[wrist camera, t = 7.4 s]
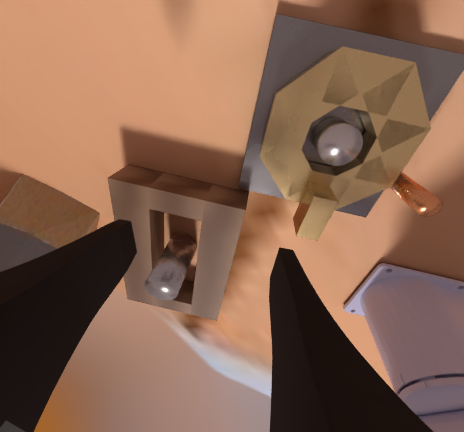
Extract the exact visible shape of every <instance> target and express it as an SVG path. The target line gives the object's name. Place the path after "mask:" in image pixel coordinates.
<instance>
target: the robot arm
mask: <svg viewBox="0 0 464 432" xmlns="http://www.w3.org/2000/svg"><path fill="white" fill-rule="evenodd" d="M136 253H137V249H136V243H135V238H134V233H133V228H132V223H131V221H127V220H122V219H118V220H116V221H114V222H112V223H109V224H107V225H105V226H103V227H101V228H99V229H97V230H95V231H93V232H91V233H89V234H87V235H85V236H83V237H81V238H79V239H77V240H75V241H73V242H71V243H69V244H67V245H64V246H62V247H60V248H58V249H56V250H53V251H51V252H49V253H47V254H45V255H42V256H40V257H38V258H35V259H33V260H30V261H28V262H25V263H23V264H20V265H17V266H15V267H12V268H10V269H7V270H4V271H1V272H0V432H34V430H35V427H36V425H37V423H38V421H39V419H40V417H41V415H42V413H43V410H44V408H45V406H46V404H47V402H48V400H49V398H50V396H51V394H52V391H53V390H54V388H55V386H56V384H57V382H58V380H59V378H60V376H61V374H62V373H63V371H64V369H65V367H66V365H67V363H68V361H69V359H70V358H71V356H72V354H73V352H74V350H75V348H76V347H77V345H78V343H79V341H80V340H81V338H82V336H83V335H84V333H85V331H86V330H87V328H88V326H89V324H90V323H91V321H92V319H93V318H94V317H95V315H96V314H97V312H98V311H99V309H100V308H101V306H102V305H103V304H104V302H105V301H106V300H107V298H108V297H109V295H110V294H111V293H112V291H113V290H114V289H115V287H116V286H117V284H118V283H119V282H120V280H121V279H122V277H123V276H124V275H125V273H126V272H127V270H128V268H129V267H130V265H131V263H132V261H133V259H134V257H135V255H136ZM269 303H270V319H271V335H272V393H271V418H270V419H271V420H270V432H464V282H463V281H458V280H454V279H450V278H446V277H441V276H437V275H433V274H429V273H424V272H420V271H416V270H412V269H407V268H403V267H399V266H395V265H390V264H386V263H381V264H379V265H378V266H377V267H376V268H375V269H374V270H373V272H372V273H371V274H370V275H369V276H368V278H367V279H366V280H365V281H364V282H363V284H362V285H361V286H360V287H359V288H358V290H357V291H356V292H355V293H354V294H353V296H352V297H351V298H350V299H349V300H348V302H347V303H346V304H345V305H344V306H343V308H344V311H345V312H349V313H353V314H357V315H361V316H365V318H366V320H367V323H368V326H369V328H370V331H371V333H372V336H373V338H374V341H375V343H376V346H377V348H378V351H379V353H380V356H381V358H382V361H383V363H384V366H385V368H386V371H387V373H388V376H389V378H390V381H391V383H392V386H393V388H394V391H395V392H394V391H393V390H392V389H391V388H390V387H389V386H388V385H387V384H386V382H385V381H384V380H383V379H382V378H381V377H380V376H379V375H378V373H377V372H376V371H375V370H374V369H373V368H372V367H371V365H370V364H369V363H368V362H367V361H366V360H365V358H364V357H363V356H362V355H361V354H360V353H359V352H358V350H357V349H356V348H355V347H354V345H353V344H352V343H351V342H350V340H349V339H348V338H347V337H346V335H345V334H344V333H343V331H342V330H341V329H340V327H339V326H338V325H337V323H336V322H335V320H334V319H333V317H332V316H331V315H330V313H329V312H328V310H327V309H326V307H325V306H324V304H323V303H322V301H321V299H320V298H319V296H318V295H317V293H316V291H315V290H314V288H313V286H312V285H311V283H310V281H309V279H308V278H307V276H306V274H305V272H304V270H303V268H302V267H301V265H300V263H299V261H298V259H297V257H296V255H295V253H294V251H293V250H290V249H285V248H279V251H278V254H277V257H276V260H275V263H274V267H273V270H272V273H271V276H270V291H269Z"/></svg>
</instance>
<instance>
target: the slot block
mask: <svg viewBox="0 0 464 432" xmlns="http://www.w3.org/2000/svg"><path fill="white" fill-rule="evenodd" d="M108 184H109V190H110V196H111V202H112V208H113V214H114V220H115V221H116V220H118V219H122V220H127V221H131V223H132V228H133V233H134V238H135V243H136V249H137V253H136V255H135V257H134V259H133V261H132V263H131V265H130V267H129V268H128V270H127V272H126V273H125V275H124V281H125V287H126V293H127V299H129V300H134V301H138V302H142V303H146V304H150V305H154V306H158V307H162V308H166V309H171V310H175V311H179V312H183V313H187V314H191V315H195V316H199V317H204V318H208V319H212V320H216V321H217V318H218V314H219V310H220V307H221V303H222V299H223V295H224V291H225V288H226V284H227V280H228V276H229V272H230V269H231V265H232V261H233V257H234V253H235V249H236V246H237V242H238V238H239V234H240V230H241V227H242V223H243V219H244V215H245V211H246V206H247V200H248V194H249V192H245V191H241V190H236V189H232V188H228V187H223V186H219V185H215V184H210V183H206V182H202V181H197V180H193V179H189V178H184V177H180V176H176V175H171V174H167V173H163V172H159V171H154V170H150V169H146V168H141V167H137V166H133V165H127V166H125V167H124V168H122V169H121V170H119V171H118V172H116V173H115V174H113V175H111V176H110V177H108ZM164 212H165V213H169V214H174V215H178V216H182V217H186V218H191V219H195V220H199V221H202V225H201V233H200V241H199V249H198V257H197V265H196V273H195V281H194V282H191V281H186V280H183V283H182V285H181V288H180V290H179V292H178V295H177V297H176V298H175V299H172V300H161V299H158V298H155V297H153V296H152V295H150V294H149V293H148V292H147V291H146V289H145V287H144V283H145V281H146V279H147V278H148V276H149V274H150V273H151V271H152V269H153V268H154V266H155V264H156V263H157V261H158V259H159V258H160V256H161V254H162V253H163V251H164Z"/></svg>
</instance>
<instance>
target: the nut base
mask: <svg viewBox="0 0 464 432" xmlns="http://www.w3.org/2000/svg"><path fill="white" fill-rule="evenodd" d="M342 46H343V47H348V48H352V49H357V50H361V51H366V52H371V53H375V54H380V55H384V56H389V57H393V58H398V59H403V60H407V61H412V62H416V66H417V70H418V74H419V79H420V83H421V88H422V92H423V97H424V101H425V105H426V110H427V114H428V119H429V121H430V120H431V118H432V117H433V115H434V114H435V112H436V111H437V109H438V108H439V106H440V105H441V103H442V102H443V100H444V99H445V97H446V96H447V94H448V93H449V91H450V90H451V88H452V87H453V85H454V84H455V82H456V81H457V79H458V78H459V76H460V75H461V73H462V72H463V70H464V54H459V53H455V52H450V51H446V50H441V49H436V48H432V47H427V46H423V45H418V44H413V43H409V42H404V41H399V40H395V39H390V38H386V37H381V36H376V35H372V34H367V33H363V32H358V31H353V30H349V29H344V28H340V27H335V26H330V25H326V24H321V23H316V22H312V21H307V20H303V19H298V18H293V17H289V16H284V15H280V14H276V19H275V23H274V28H273V32H272V37H271V41H270V46H269V50H268V55H267V59H266V64H265V68H264V73H263V77H262V82H261V87H260V91H259V96H258V100H257V105H256V109H255V114H254V118H253V123H252V127H251V132H250V136H249V141H248V145H247V150H246V154H245V159H244V163H243V168H242V172H241V177H240V181H239V186H238V188H241V189H245V190H250V191H254V192H258V193H262V194H267V195H271V196H275V197H280V198H284V199H285V197H284V196H283V194H282V193H281V191H280V189H279V188H278V186H277V184H276V183H275V181H274V179H273V178H272V176H271V175H270V173H269V171H268V170H267V168H266V166H265V165H264V163H263V161H262V160H261V158H260V149H261V145H262V141H263V137H264V133H265V129H266V125H267V121H268V118H269V114H270V110H271V106H272V102H273V98H274V94H275V92H276V91H277V90H279V89H280V88H281V87H283V86H284V85H286V84H287V83H288V82H290V81H291V80H292V79H294V78H295V77H297V76H298V75H299V74H301V73H302V72H304V71H305V70H306V69H308V68H309V67H311V66H312V65H313V64H315V63H316V62H317V61H319V60H320V59H322V58H323V57H324V56H326V55H327V54H329V53H330V52H331V51H333V50H335V49H337V48H340V47H342ZM365 131H366V130H365V127H364V125H363V122H362V119H361V116H360V113H359V111H358V109H353V108H349V107H344V106H338V107H336V108H335V109H333V110H331V111H330V112H328V113H327V114H325V115H323V116H322V117H320V118H318V119H317V120H315V121H313V122H312V123H311V125H310V128H309V131H308V133H307V136H306V139H305V142H304V144H303V147H302V151H303V153H304V155H305V157H306V159H307V161H308V162H311V163H316V164H320V165H325V166H329V167H330V166H340V165H344V164H347V163H349V162H350V161H352V160H353V159H354V158H355V157H356V156H357V155H358V154H359V152H360V151H361V148H362V145H363V135H364V133H365ZM390 188H391V189H392V190H393V191H394V192H395V193H396V194H397V195H398V196H400V197H401V198H402V199H403V200H404V201H405V202H406V203H407V204H408V205H409V206H410V207H411V208H413V209H414V210H415V211H416V212H417V213H418V214H419V215H420V216H424V217H427V216H432V215H434V214H436V213H438V212H439V211H440V210H441V208H442V206H443V203H442V201H441V200H440V199H438V198H437V197H435V196H434V195H433V194H431V193H430V192H429V191H427V190H426V189H424V188H423V187H422V186H420V185H419V184H418V183H416V182H415V181H413V180H412V179H411V178H409V177H408V176H407V175H405V174H404V173H402V172H401V173H400V175H399V176H398V178H397V179H396V181H395V182H394V184H393V185H392V187H390ZM383 191H384V190H382V191H380V192H377V193H375V194H373V195H370V196H368V197H365V198H363V199H361V200H358V201H356V202H353V203H351V204H349V205H346V206H344V207H341V208H339V209H337V210H336V211H340V212H345V213H349V214H353V215H357V216H362V217H366V216H367V215H368V213H369V212H370V210H371V209H372V207H373V206H374V204H375V203H376V201H377V200H378V198H379V197H380V195H381V194H382V192H383Z"/></svg>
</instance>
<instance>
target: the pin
mask: <svg viewBox="0 0 464 432" xmlns="http://www.w3.org/2000/svg"><path fill="white" fill-rule="evenodd" d="M196 249H197V244H196V241H195V240H194V239H193V238H192V237H191V236H189V235H187V234H183V233H178V234H175V235H173V236H172V237H171V239H170V241H169V242H168V244H167V246H166V247H165V249H164V251H163V253H162V254H161V256H160V258H159V259H158V261H157V263H156V264H155V266H154V268H153V269H152V271H151V273H150V274H149V276H148V278H147V279H146V281H145V283H144V287H145V289H146V291H147V292H148V293H149V294H150V295H152V296H153V297H155V298H158V299H161V300H172V299H175V298H176V297H177V295H178V292H179V290H180V288H181V285H182V283H183V280H184V278H185V276H186V273H187V271H188V268H189V266H190V263H191V261H192V259H193V256H194V254H195V251H196Z"/></svg>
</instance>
